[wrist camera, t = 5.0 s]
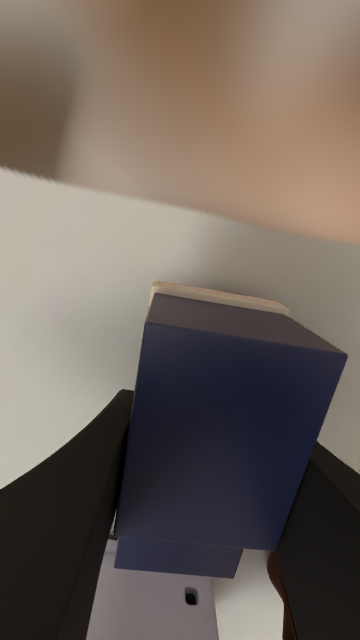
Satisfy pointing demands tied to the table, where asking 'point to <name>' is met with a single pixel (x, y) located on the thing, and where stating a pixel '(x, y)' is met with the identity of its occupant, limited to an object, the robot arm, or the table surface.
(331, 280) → the table surface
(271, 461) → the stepped navy block
